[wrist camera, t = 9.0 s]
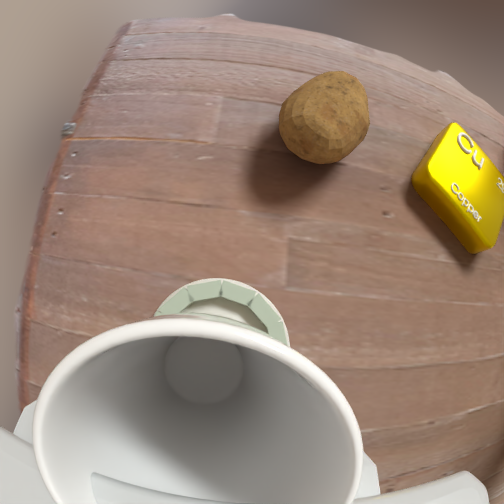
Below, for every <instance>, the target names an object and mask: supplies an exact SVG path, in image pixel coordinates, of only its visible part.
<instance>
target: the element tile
mask: <svg viewBox="0 0 504 504" xmlns="http://www.w3.org/2000/svg"><path fill="white" fill-rule="evenodd" d="M411 181H412V185H413V187H414V189H415V191H416V192H417V193H418V194H419V196H420V197H421V198H422V199H423V200H424V201H425V202H426V203H427V204H428V205H429V206H430V207H431V208H432V210H433V211H434V212H435V213H436V214H437V215H438V216H439V217H440V219H441V220H442V221H443V222H444V223H445V224H446V226H447V227H448V228H449V229H450V230H451V231H452V233H453V234H454V235H455V236H456V237H457V239H458V240H459V241H460V242H461V244H462V245H463V246H464V247H465V249H466V250H467V251H468V252H469V253H471V254H476V253H479V252H482V251H485V250H488V249H491V248H492V247H493V246H494V245H495V244H496V241H497V238H498V235H499V232H500V228H501V225H502V222H503V218H504V177H503V176H502V174H501V173H500V172H499V170H498V169H497V168H496V167H495V165H494V164H493V163H492V162H491V160H490V159H489V158H488V157H487V155H486V154H485V153H484V152H483V151H482V149H481V148H480V147H479V146H478V145H477V144H476V142H475V141H474V140H473V139H472V138H471V137H470V136H469V135H468V133H467V132H466V131H465V130H464V129H463V128H462V127H461V126H460V125H458V124H457V123H454V122H453V123H450V124H449V125H448V126H447V127H446V128H444V129H443V130H442V131H441V132H440V133H439V134H438V135H437V137H436V138H435V140H434V142H433V143H432V145H431V146H430V148H429V149H428V151H427V153H426V154H425V156H424V157H423V159H422V160H421V162H420V163H419V165H418V166H417V168H416V169H415V171H414V172H413V175H412V180H411Z"/></svg>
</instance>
